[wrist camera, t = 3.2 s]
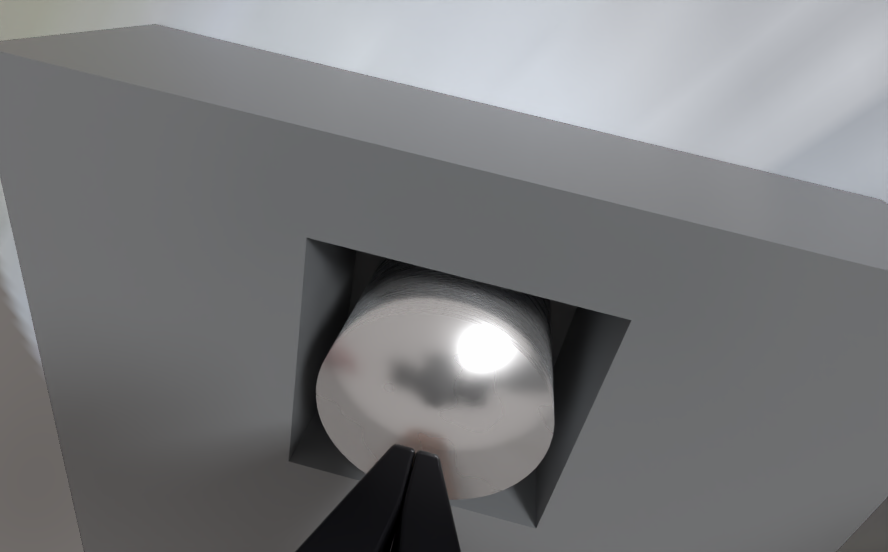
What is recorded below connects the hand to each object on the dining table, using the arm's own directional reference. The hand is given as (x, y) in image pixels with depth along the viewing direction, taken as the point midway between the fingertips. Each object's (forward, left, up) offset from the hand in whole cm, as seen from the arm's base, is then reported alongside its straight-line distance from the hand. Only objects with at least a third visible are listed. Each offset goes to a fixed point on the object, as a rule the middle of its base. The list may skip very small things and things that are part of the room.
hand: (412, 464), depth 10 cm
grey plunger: (0, 0, -5) cm, 5 cm away
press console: (0, +5, -7) cm, 8 cm away
